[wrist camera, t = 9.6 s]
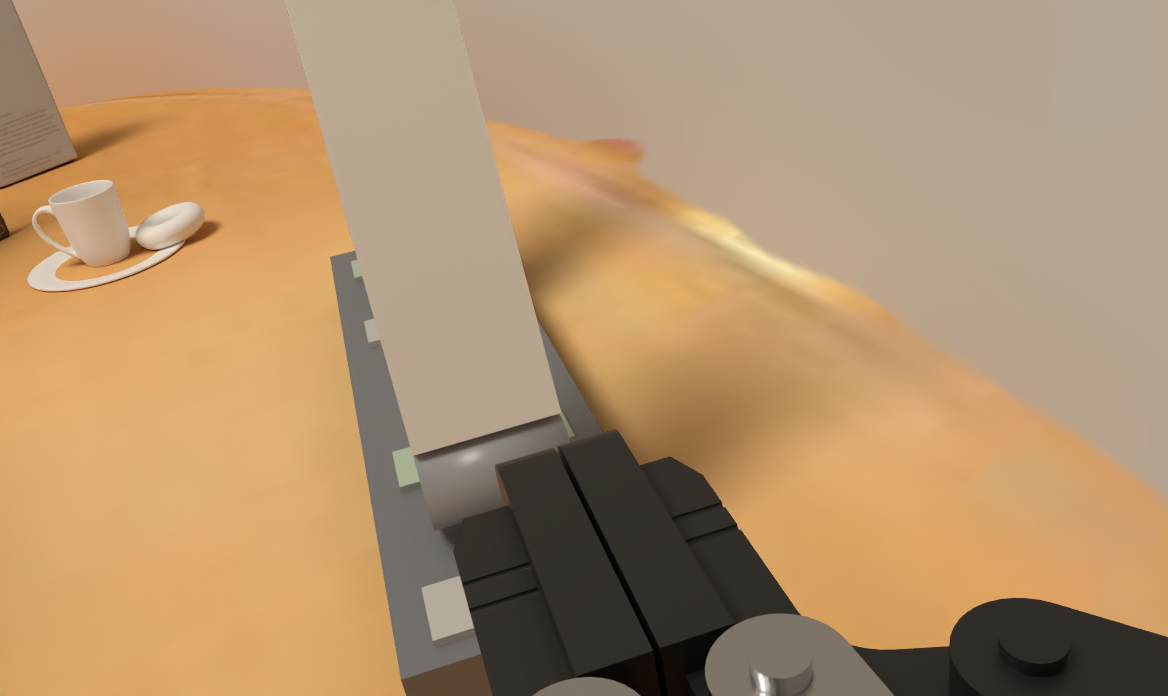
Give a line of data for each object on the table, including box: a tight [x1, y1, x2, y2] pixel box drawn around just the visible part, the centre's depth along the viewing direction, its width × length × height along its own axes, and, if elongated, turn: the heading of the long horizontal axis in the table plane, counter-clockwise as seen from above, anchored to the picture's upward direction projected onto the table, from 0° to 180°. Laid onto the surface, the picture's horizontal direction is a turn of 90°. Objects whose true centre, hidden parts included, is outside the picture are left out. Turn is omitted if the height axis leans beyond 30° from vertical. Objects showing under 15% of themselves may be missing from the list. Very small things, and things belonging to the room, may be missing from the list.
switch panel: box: [330, 251, 604, 696], centre depth 33 cm, size 6×25×2 cm, turn 16°
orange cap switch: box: [284, 0, 570, 531], centre depth 24 cm, size 4×2×16 cm, turn 106°
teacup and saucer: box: [28, 180, 205, 291], centre depth 53 cm, size 9×8×4 cm
